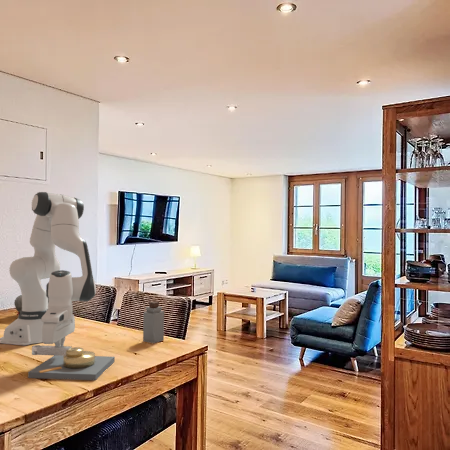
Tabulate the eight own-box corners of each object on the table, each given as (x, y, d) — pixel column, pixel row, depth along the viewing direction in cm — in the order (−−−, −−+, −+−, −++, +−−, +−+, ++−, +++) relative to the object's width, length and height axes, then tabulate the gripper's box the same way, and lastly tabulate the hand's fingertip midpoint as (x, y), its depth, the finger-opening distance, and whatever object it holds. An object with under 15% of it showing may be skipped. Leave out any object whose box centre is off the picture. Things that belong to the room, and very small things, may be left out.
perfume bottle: (153, 343, 188) (154, 304, 188) (143, 341, 191) (143, 302, 192) (163, 340, 194) (164, 302, 194) (152, 338, 197) (153, 300, 197)
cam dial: (99, 359, 157) (99, 343, 157) (87, 368, 146) (88, 352, 146) (39, 357, 158) (40, 342, 158) (24, 366, 147) (24, 350, 147)
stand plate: (27, 378, 142) (27, 371, 142) (55, 359, 162) (55, 354, 162) (95, 380, 141) (95, 374, 141) (114, 361, 161) (114, 355, 161)
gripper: (64, 308, 168) (63, 342, 167) (38, 318, 147) (38, 357, 147) (79, 308, 167) (78, 342, 167) (56, 319, 147) (55, 357, 147)
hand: (59, 349), depth 157 cm, fingers closed
